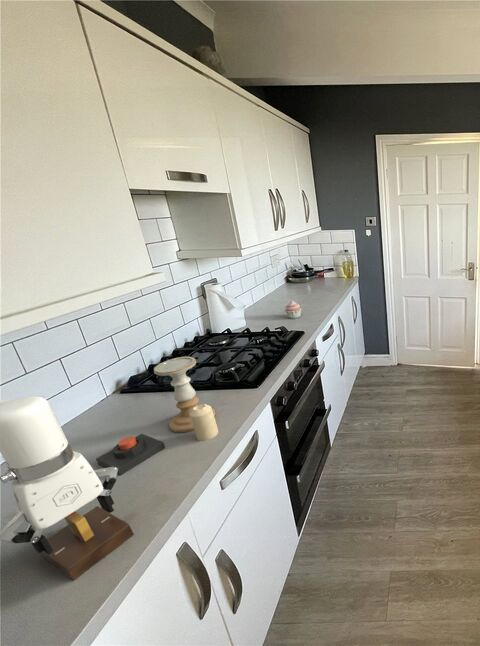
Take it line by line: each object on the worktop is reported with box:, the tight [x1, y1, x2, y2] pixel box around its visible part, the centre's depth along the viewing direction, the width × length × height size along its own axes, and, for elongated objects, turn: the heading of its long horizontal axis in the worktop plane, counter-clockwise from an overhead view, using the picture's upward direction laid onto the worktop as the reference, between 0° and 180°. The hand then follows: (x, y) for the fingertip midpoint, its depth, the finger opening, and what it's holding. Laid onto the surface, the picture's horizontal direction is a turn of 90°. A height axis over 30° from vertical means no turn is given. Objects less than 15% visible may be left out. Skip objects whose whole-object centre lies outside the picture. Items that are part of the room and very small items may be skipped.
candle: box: [189, 403, 219, 442], centre depth 101 cm, size 6×6×10 cm
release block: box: [95, 433, 166, 477], centre depth 95 cm, size 11×10×4 cm
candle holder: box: [153, 356, 216, 434], centre depth 106 cm, size 12×12×20 cm
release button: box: [117, 435, 137, 450], centre depth 94 cm, size 4×4×2 cm
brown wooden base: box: [39, 506, 135, 581], centre depth 71 cm, size 10×12×3 cm
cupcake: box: [284, 300, 303, 320], centre depth 198 cm, size 9×9×10 cm
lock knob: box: [64, 511, 94, 542], centre depth 69 cm, size 5×2×5 cm, turn 66°
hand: (79, 529), depth 69 cm, fingers open, 9 cm apart
